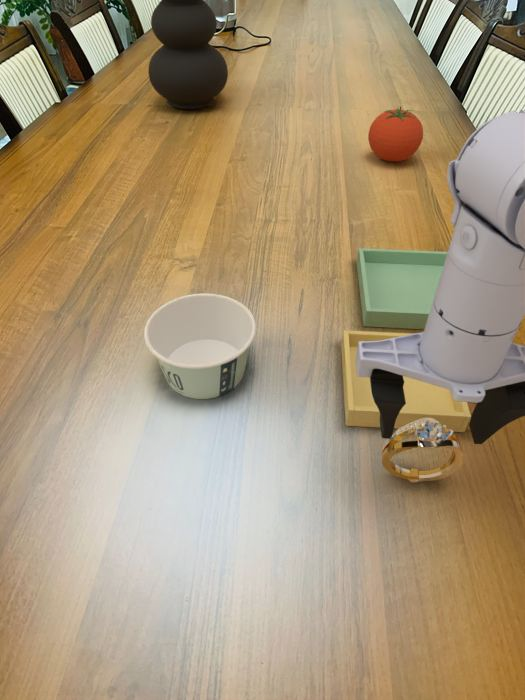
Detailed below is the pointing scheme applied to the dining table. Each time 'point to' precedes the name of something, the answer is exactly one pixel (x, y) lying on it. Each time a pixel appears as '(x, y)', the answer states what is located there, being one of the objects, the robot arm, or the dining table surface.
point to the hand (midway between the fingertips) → (429, 431)
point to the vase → (186, 54)
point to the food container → (201, 343)
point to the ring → (428, 439)
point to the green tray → (398, 286)
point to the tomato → (395, 135)
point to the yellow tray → (418, 394)
